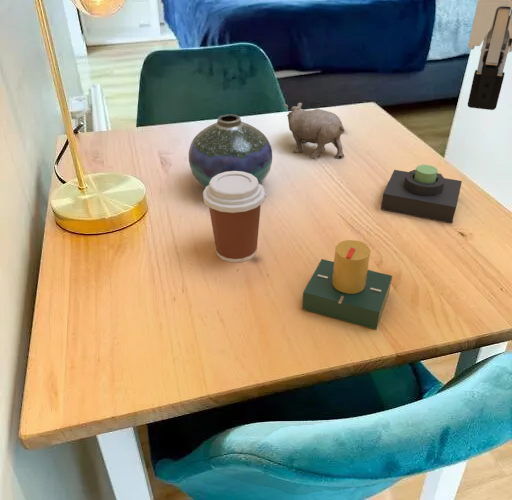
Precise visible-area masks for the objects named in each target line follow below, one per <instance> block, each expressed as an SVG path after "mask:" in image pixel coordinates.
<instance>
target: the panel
mask: <svg viewBox="0 0 512 500" xmlns="http://www.w3.org/2000/svg"><path fill="white" fill-rule="evenodd" d="M333 267H334V260H333V261H332V260H329V259H324V258H321V260H320V261H319V263H318V264H317V266H316V268H315V271H314V272H313V274H312V275H311V277H310V279H309V281H308V283H307V284H306V286H305V288H304V290H303V292H302V307H301V310H303V311H306V312H311V313H315V314H318V315H322V316H325V317H329V318H332V319H336V320H339V321H342V322H343V321H344V322H347V323H351V324H354V325H358V326H361V327H364V328H369V329H373V330H376V331H377V330H378V327H379V324H380V321H381V319H382V315H383V312H384V309H385V306H386V303H387V302H388V297H389V295H390V292H391V285H392V279H393V275H391V274H388V273H382V272H379V271H374V270H370V269H368V272H367V279H366V286H365V288H364V289H363V290H362V291H361V292H359V293H355V294H347V293H343V292H340V291H338V290H337V289H335V287H334V286H333V284H332V277H333Z"/></svg>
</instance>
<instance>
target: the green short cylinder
mask: <svg viewBox="0 0 512 500" xmlns="http://www.w3.org/2000/svg"><path fill="white" fill-rule="evenodd" d="M415 170H416V171H415V176H414V180H416V181H418V182H420V183H426V184H429V183H434V182H435V181H436V177H437V173H439V170H438V168H437V167H436V166H433V165H430V164H420V165H417V166H416V167H415Z"/></svg>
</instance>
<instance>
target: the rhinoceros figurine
mask: <svg viewBox="0 0 512 500" xmlns="http://www.w3.org/2000/svg"><path fill="white" fill-rule="evenodd" d="M284 106H285V107H286V108H289V106H288V104H287V103H286V104H284ZM302 107H303V103H302V102H298V103H297V106H295V105H294V106H293V105H292V107H291V108H290V109H291V111H289V112H288V113H287V115H286V116H287V121H288V129H289V130H290V131H291V134H292V138H293V139H294V141H295V145H296V148H295V149H294V150H293V153H299V154H302V152H303V150H304V146H303V143H304V142H305V143H309V144H314V145H317V146H316V148H315V149H314V150H313V152H312V153H311V154H310V155H309V157H310V158H311V159H319V156H320V154H323V152H325V151H326V148H325V146H326V145H328V144H330V143H331V144H333V146H334V147H335V148H336V154H335V155H334V157H333V158H334V159H337V160H340V159H343V158H345V154H344V152H343V144H342V141H341V136H342V135H343V134H344V133H345V132H346V131H345V128H344V125H343V123H342V120H341V119H340V117H339V116H338V115H337V114H336V113H334V112H331V111H329V110H324V109H320V108H315V109H311V110H310V109H309V110H305V109H303V108H302ZM340 156H341V157H340Z"/></svg>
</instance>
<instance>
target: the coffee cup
mask: <svg viewBox="0 0 512 500" xmlns="http://www.w3.org/2000/svg"><path fill="white" fill-rule="evenodd" d="M266 194H267V193H266V190H265V187H264V185H262V184H259V183H258V180H257V178H256V177H254V176H253V175H252V174H249V173H246V172H242V171H228V172H223V173H220V174H218V175H216V176H214V177H213V178H212V179H211V180H210V182H209V185H208V186H206V188H205V187H204V190H203V191H202V199H203V203H204V204H205V205H206V206H208V210H209V216H210V223H211V226H212V233H213V239H214V244H215V245H214V246H215V253H216V256H217V257H218V258H219V259H220V260H223V261H225V262H227V263H235V264H236V263H243V262H247V261H249V260H251V259H252V258H254V257H255V256H256V254H257V251H258V240H259V230H260V229H259V228H260V220H261V219H260V217H261V206H262V205H263V204H264V202H265V199H266V197H267V195H266Z"/></svg>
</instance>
